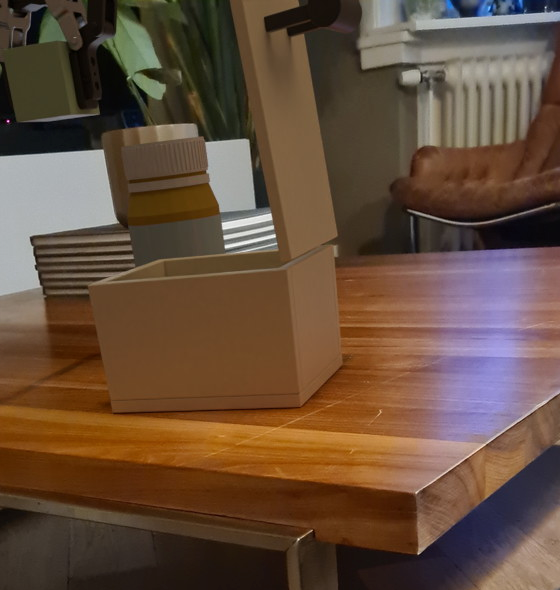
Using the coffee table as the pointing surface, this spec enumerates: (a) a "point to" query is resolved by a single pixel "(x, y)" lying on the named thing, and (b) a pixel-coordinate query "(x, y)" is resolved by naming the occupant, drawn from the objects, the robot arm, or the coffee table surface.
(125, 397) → the tan open box
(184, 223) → the bottle
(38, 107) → the block
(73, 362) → the coffee table surface
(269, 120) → the lid
